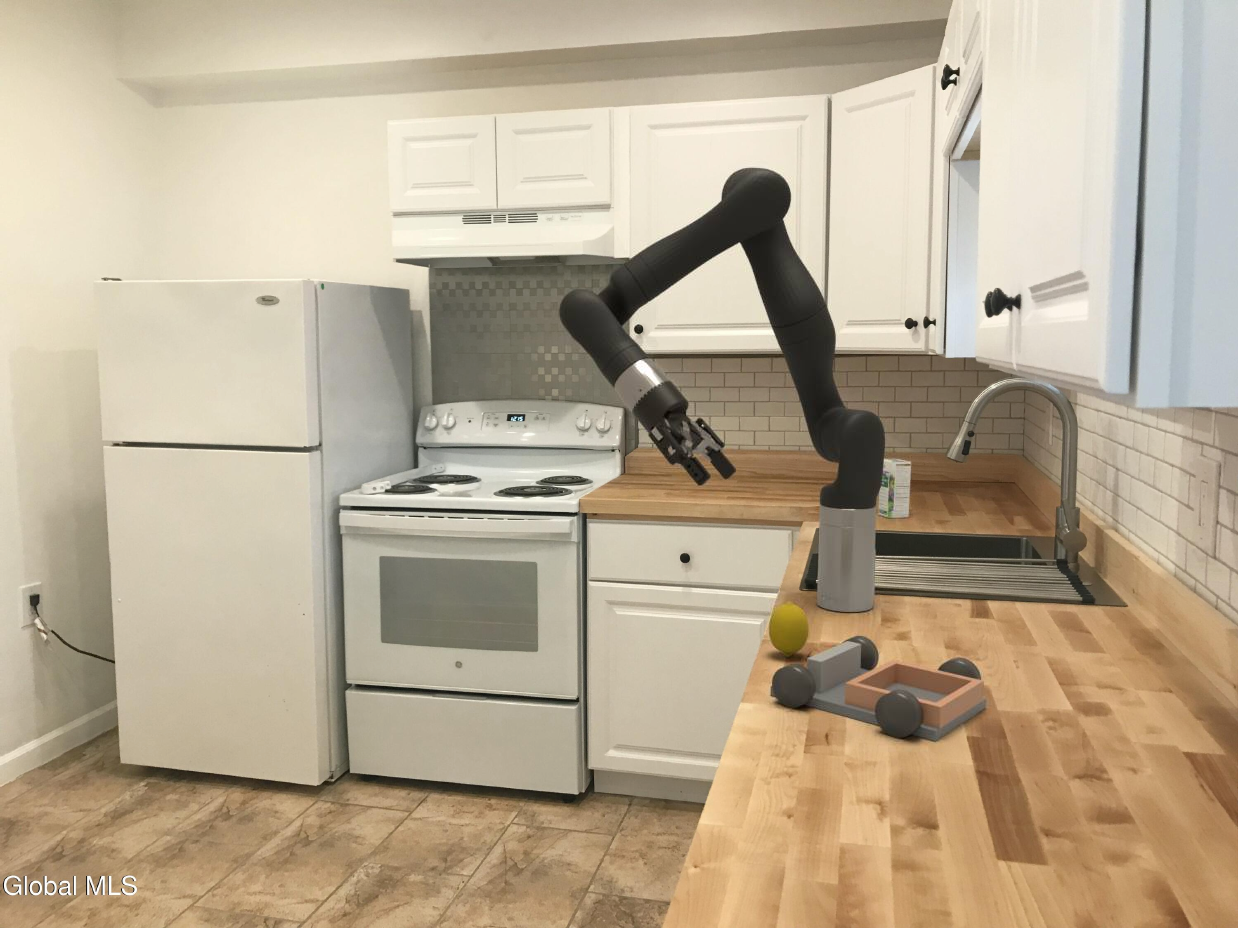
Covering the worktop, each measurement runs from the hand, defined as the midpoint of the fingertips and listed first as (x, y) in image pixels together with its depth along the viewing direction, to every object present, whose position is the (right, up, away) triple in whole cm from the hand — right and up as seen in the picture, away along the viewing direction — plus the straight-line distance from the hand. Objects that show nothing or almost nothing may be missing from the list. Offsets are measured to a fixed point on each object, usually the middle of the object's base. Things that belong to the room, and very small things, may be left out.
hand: (718, 478), depth 147 cm
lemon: (+10, -25, -3) cm, 27 cm away
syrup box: (+55, -11, +111) cm, 125 cm away
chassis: (+18, -27, -21) cm, 39 cm away
